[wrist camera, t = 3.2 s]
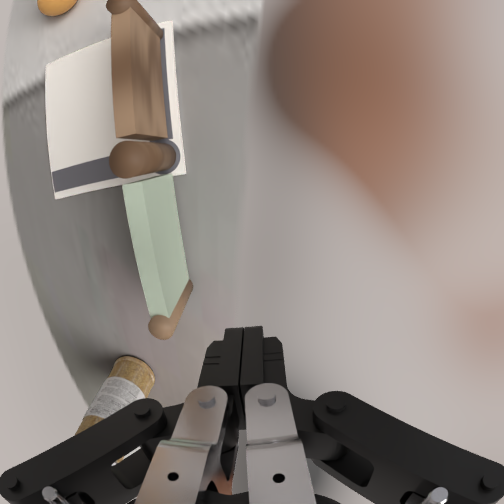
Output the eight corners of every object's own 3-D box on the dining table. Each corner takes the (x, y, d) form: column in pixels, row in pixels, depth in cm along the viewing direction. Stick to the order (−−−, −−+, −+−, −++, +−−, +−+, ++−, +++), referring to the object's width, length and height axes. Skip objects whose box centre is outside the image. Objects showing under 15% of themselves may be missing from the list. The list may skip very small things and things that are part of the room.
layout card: (47, 65, 18) (45, 65, 18) (172, 21, 17) (171, 19, 17) (57, 199, 22) (55, 199, 21) (186, 173, 21) (185, 174, 21)
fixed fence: (141, 31, 17) (103, -4, 11) (165, 24, 17) (134, -14, 11) (152, 172, 21) (111, 181, 14) (178, 168, 21) (145, 175, 14)
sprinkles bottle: (146, 394, 28) (106, 497, 15) (109, 371, 27) (55, 469, 15) (163, 370, 27) (121, 485, 14) (122, 345, 26) (61, 452, 13)
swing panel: (154, 176, 21) (116, 186, 15) (174, 172, 21) (143, 181, 15) (175, 295, 24) (151, 339, 18) (194, 294, 23) (176, 339, 17)
